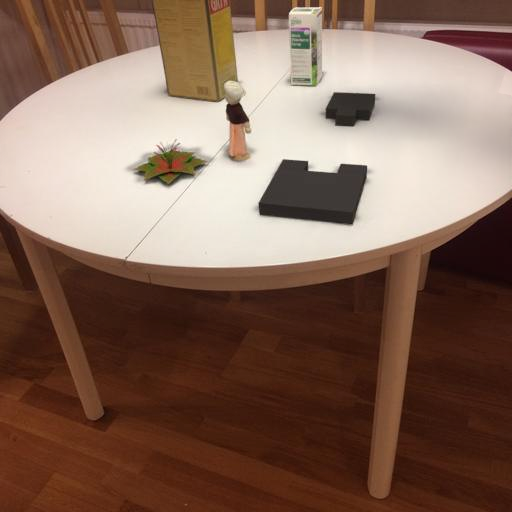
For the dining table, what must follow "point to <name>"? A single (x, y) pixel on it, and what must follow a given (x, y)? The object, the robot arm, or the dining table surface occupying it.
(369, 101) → the small pad
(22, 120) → the dining table surface
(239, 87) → the grandmother figurine
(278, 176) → the base pad
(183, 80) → the food packaging
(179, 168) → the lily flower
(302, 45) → the syrup box
